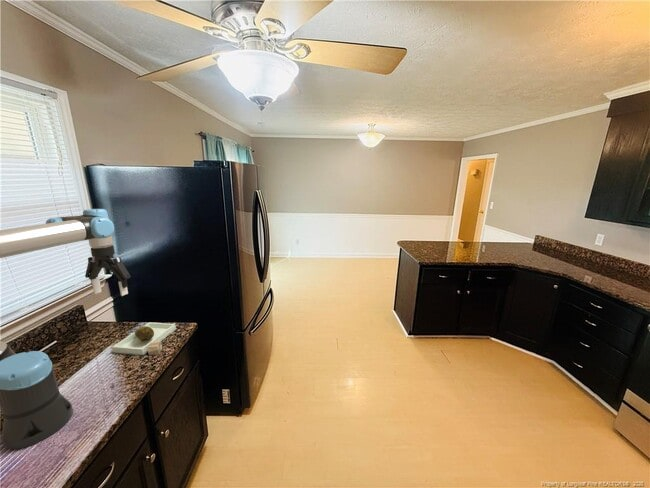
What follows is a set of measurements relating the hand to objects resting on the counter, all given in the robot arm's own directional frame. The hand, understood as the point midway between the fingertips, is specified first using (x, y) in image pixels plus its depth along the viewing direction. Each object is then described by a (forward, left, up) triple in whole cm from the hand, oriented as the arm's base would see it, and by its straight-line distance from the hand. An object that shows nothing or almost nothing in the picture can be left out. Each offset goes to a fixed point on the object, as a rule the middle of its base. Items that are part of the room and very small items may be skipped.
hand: (111, 293), depth 114 cm
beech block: (0, -17, -27) cm, 32 cm away
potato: (+6, -6, -27) cm, 28 cm away
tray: (+7, -6, -27) cm, 29 cm away
